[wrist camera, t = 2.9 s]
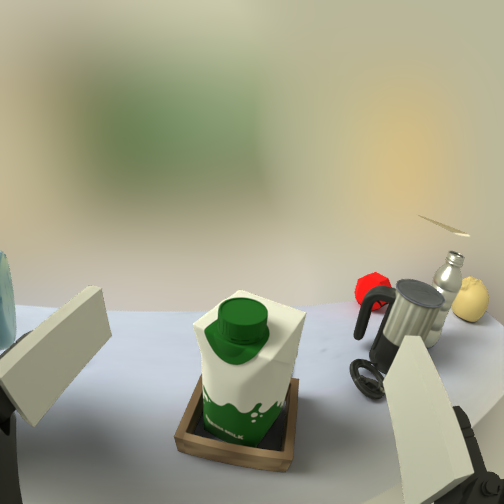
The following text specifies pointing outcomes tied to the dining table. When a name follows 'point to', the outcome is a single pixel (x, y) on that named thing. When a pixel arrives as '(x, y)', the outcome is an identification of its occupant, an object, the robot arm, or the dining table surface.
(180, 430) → the holder
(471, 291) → the pale yellow rounded lump
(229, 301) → the soya milk
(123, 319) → the dining table surface
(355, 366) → the milk frother
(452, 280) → the plastic bottle
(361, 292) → the ball
